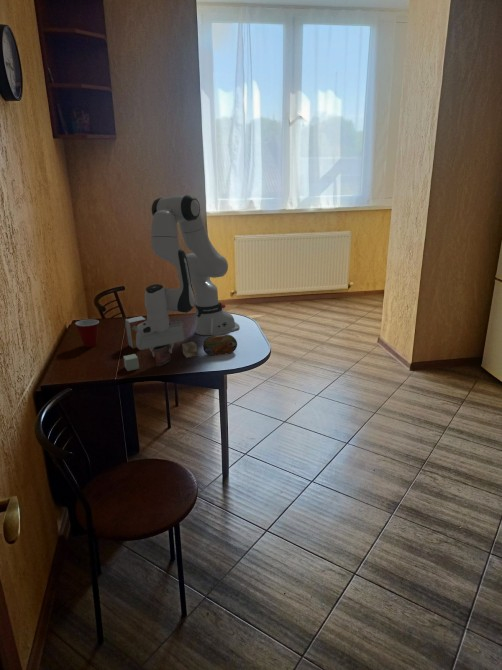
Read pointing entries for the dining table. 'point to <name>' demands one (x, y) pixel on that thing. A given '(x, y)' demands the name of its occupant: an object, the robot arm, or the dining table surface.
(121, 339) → the dining table surface
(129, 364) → the sage block
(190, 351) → the cream rounded lump
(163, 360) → the lighter
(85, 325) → the plastic cup
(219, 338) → the tin
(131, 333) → the small box
